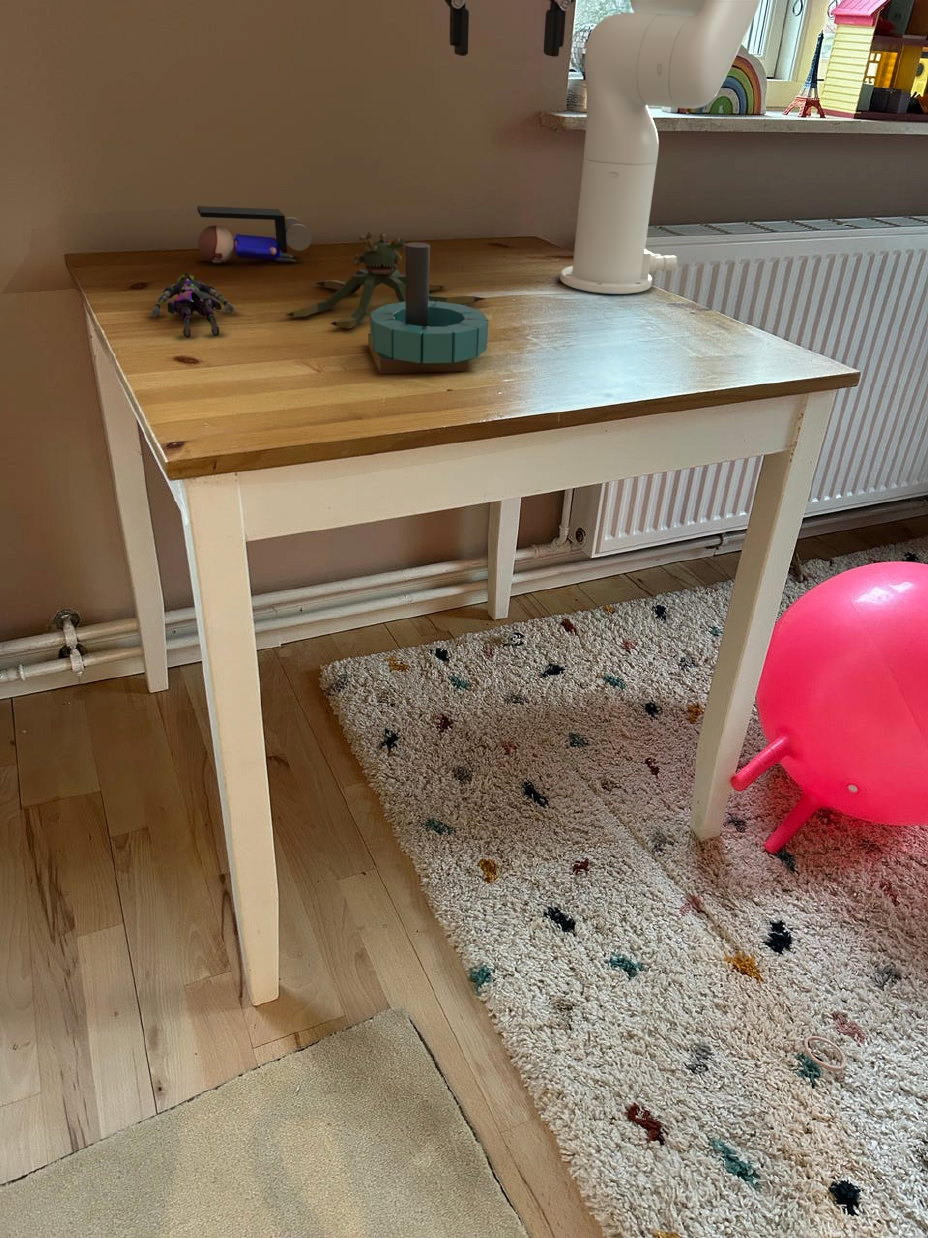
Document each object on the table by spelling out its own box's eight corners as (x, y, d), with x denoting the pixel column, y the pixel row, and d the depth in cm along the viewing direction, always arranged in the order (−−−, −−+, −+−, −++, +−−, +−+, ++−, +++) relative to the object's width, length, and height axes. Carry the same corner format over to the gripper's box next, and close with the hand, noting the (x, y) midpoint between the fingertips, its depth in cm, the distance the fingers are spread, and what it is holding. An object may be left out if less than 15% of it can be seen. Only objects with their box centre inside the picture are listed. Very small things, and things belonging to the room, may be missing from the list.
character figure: (245, 337, 106) (226, 294, 118) (242, 303, 104) (223, 263, 116) (158, 342, 103) (147, 297, 115) (153, 308, 101) (143, 265, 113)
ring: (473, 327, 106) (475, 300, 104) (495, 362, 96) (497, 332, 95) (366, 329, 104) (365, 301, 102) (377, 364, 94) (377, 334, 93)
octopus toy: (285, 332, 107) (280, 249, 102) (283, 286, 124) (279, 213, 119) (503, 330, 111) (508, 251, 106) (473, 286, 127) (476, 216, 123)
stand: (449, 344, 105) (452, 235, 99) (467, 371, 98) (472, 254, 92) (368, 347, 104) (366, 235, 97) (380, 374, 96) (379, 255, 90)
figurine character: (301, 264, 140) (195, 255, 135) (304, 209, 136) (195, 198, 131) (310, 275, 135) (200, 266, 129) (313, 218, 131) (201, 207, 125)
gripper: (589, -150, 93) (574, 53, 103) (416, -160, 90) (417, 51, 99) (616, -158, 87) (597, 58, 97) (432, -168, 84) (431, 57, 93)
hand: (506, 54), depth 98 cm, fingers open, 9 cm apart
